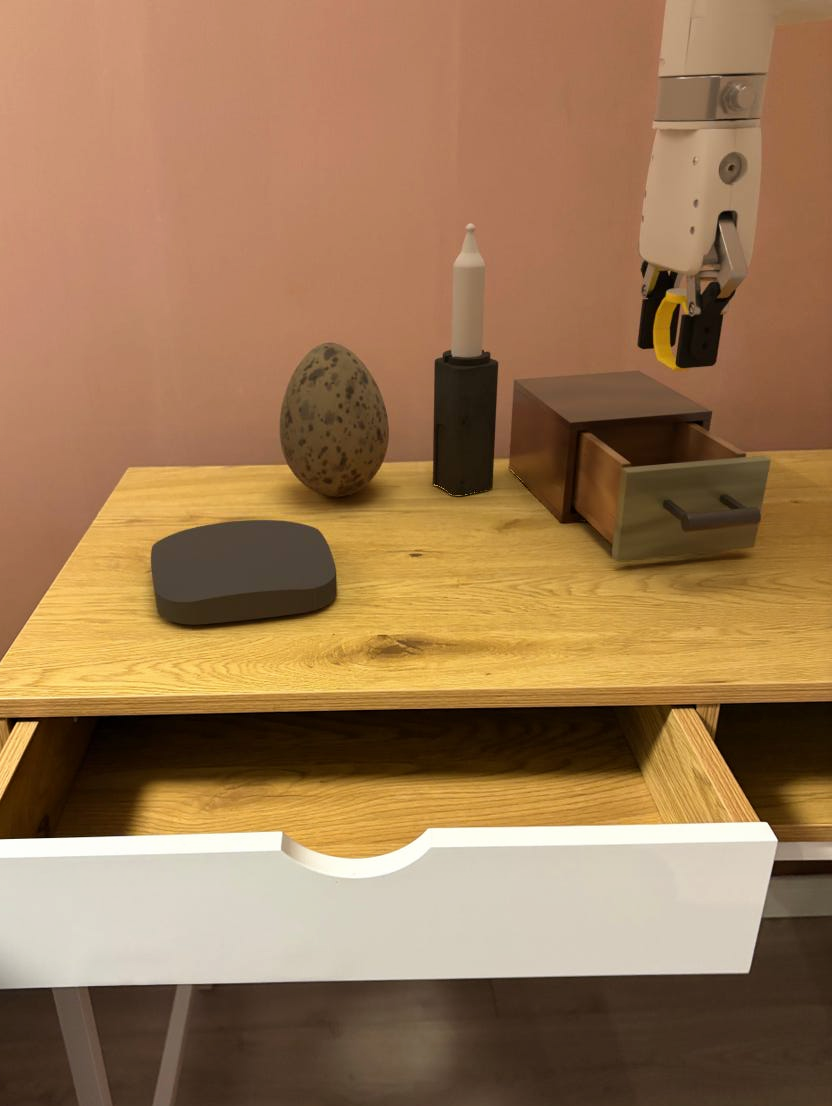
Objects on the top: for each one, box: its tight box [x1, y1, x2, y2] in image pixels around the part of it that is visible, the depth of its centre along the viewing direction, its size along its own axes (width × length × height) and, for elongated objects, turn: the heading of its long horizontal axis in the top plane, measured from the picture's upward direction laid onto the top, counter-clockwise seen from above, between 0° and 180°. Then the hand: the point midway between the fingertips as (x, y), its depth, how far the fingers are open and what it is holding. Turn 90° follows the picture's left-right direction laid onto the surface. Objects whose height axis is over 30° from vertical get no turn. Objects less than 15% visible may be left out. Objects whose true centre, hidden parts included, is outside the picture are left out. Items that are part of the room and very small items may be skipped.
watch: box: [653, 287, 703, 372], centre depth 78 cm, size 6×3×6 cm, turn 11°
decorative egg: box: [279, 342, 390, 497], centre depth 95 cm, size 11×11×15 cm
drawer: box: [571, 421, 772, 562], centre depth 84 cm, size 19×12×8 cm, turn 10°
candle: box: [432, 223, 499, 495], centre depth 94 cm, size 5×5×25 cm
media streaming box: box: [150, 519, 338, 626], centre depth 80 cm, size 15×15×3 cm
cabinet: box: [508, 370, 713, 524], centre depth 96 cm, size 16×14×10 cm
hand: (675, 354), depth 79 cm, fingers closed on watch, 6 cm apart
